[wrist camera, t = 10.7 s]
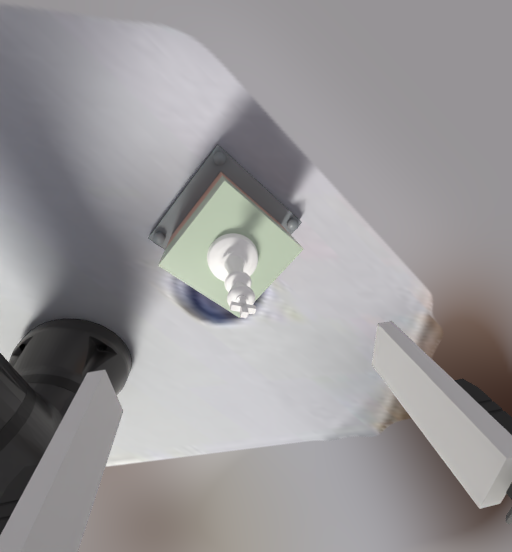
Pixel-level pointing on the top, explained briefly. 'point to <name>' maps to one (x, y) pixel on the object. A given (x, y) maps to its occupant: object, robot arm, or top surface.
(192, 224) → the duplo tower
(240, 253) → the chess piece
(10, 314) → the top surface
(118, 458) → the top surface
